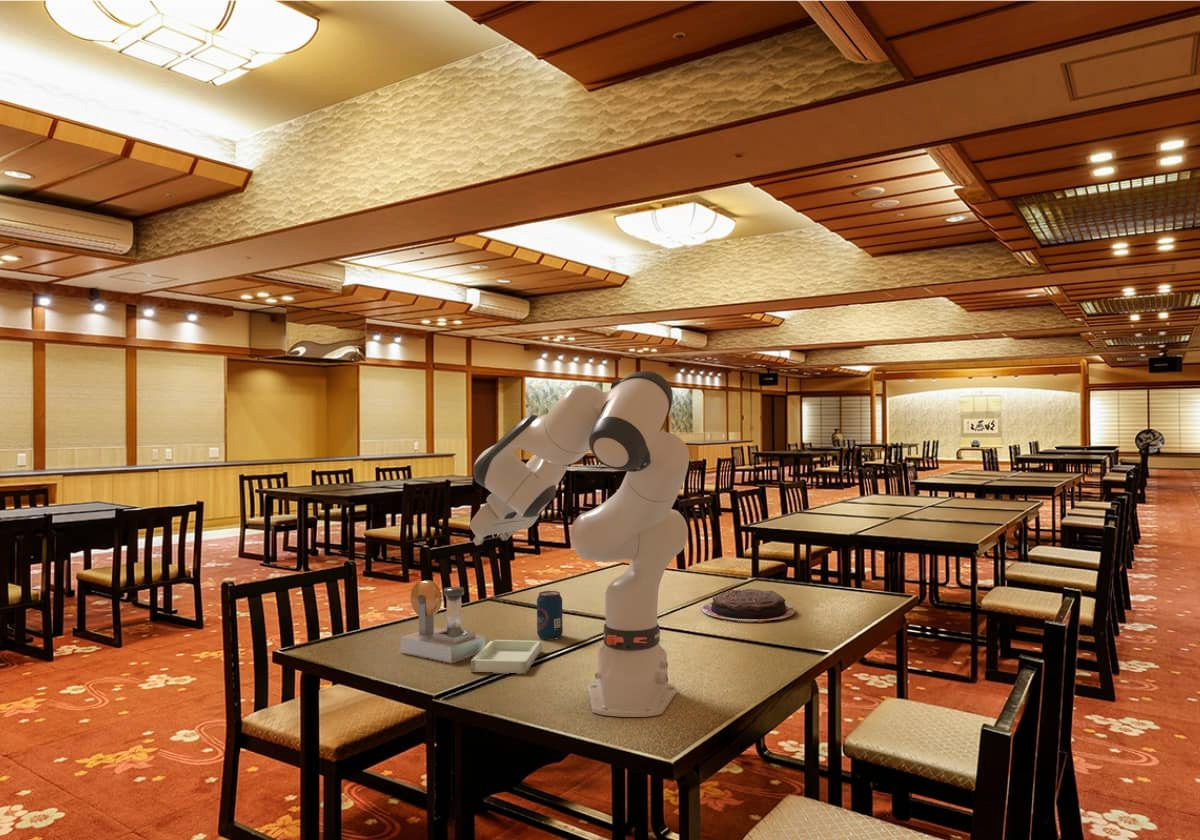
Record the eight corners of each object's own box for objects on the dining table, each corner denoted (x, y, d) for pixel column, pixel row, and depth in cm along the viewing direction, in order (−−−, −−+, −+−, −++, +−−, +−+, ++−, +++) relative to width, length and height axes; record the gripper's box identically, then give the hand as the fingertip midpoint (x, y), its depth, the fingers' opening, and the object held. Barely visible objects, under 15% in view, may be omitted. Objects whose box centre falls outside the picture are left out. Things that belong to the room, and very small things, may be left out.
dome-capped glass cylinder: (460, 641, 192) (460, 590, 192) (441, 641, 193) (440, 590, 193) (466, 636, 197) (466, 586, 197) (447, 635, 198) (447, 586, 198)
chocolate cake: (699, 623, 225) (699, 600, 225) (703, 602, 252) (703, 582, 252) (798, 626, 220) (798, 603, 220) (792, 604, 247) (791, 583, 247)
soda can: (532, 637, 211) (531, 592, 211) (552, 632, 215) (552, 589, 215) (547, 642, 205) (546, 596, 205) (567, 637, 210) (567, 593, 210)
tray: (525, 673, 178) (525, 661, 178) (470, 672, 180) (470, 660, 180) (541, 651, 196) (541, 640, 196) (491, 650, 198) (491, 639, 198)
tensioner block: (485, 651, 197) (484, 582, 197) (451, 663, 187) (450, 591, 187) (431, 641, 208) (430, 575, 208) (396, 651, 198) (396, 583, 198)
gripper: (540, 489, 193) (510, 526, 199) (484, 495, 176) (453, 535, 182) (554, 507, 191) (524, 544, 196) (499, 515, 174) (467, 556, 179)
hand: (489, 540), depth 189 cm, fingers open, 8 cm apart
